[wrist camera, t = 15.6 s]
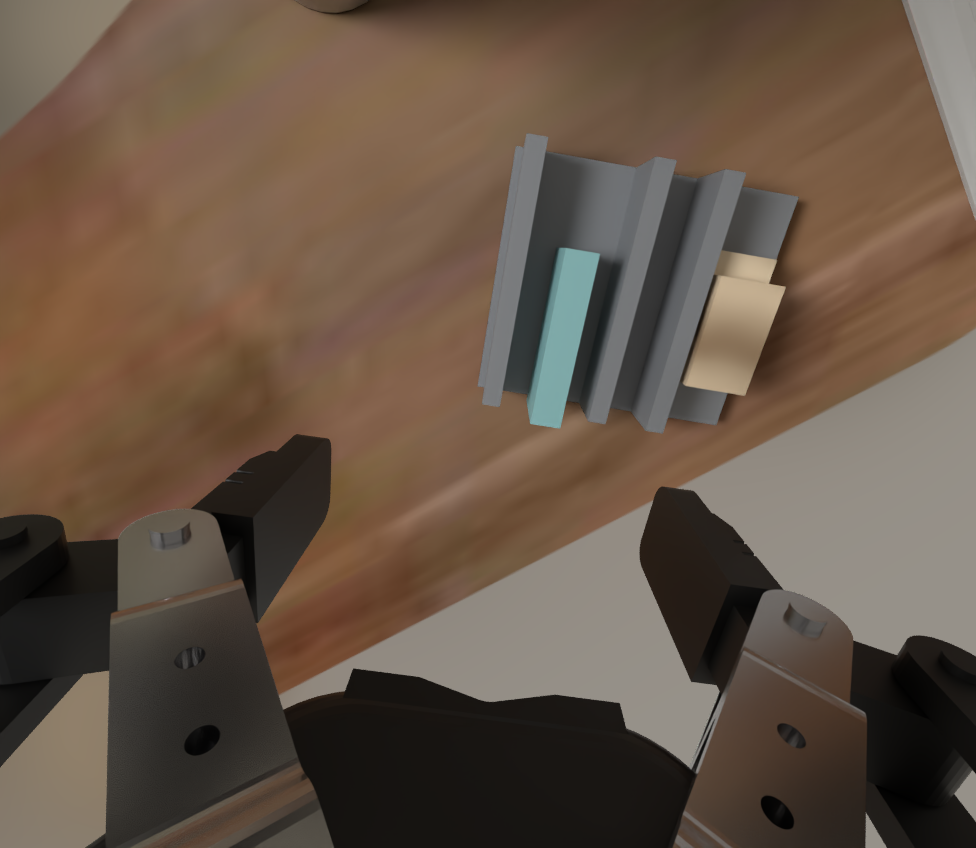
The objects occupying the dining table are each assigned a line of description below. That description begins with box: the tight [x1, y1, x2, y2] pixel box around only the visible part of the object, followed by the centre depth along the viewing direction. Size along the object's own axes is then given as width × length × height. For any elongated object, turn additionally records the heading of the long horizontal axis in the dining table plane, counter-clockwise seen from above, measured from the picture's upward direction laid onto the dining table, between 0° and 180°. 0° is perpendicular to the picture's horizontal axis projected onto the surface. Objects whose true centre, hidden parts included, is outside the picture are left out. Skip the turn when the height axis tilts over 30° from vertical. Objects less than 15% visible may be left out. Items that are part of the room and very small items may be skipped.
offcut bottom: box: [714, 250, 777, 284], centre depth 32 cm, size 8×4×2 cm, turn 171°
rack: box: [478, 133, 799, 433], centre depth 32 cm, size 16×18×6 cm
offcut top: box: [680, 275, 786, 396], centre depth 30 cm, size 7×4×2 cm, turn 171°
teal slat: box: [527, 248, 600, 428], centre depth 31 cm, size 5×2×11 cm
